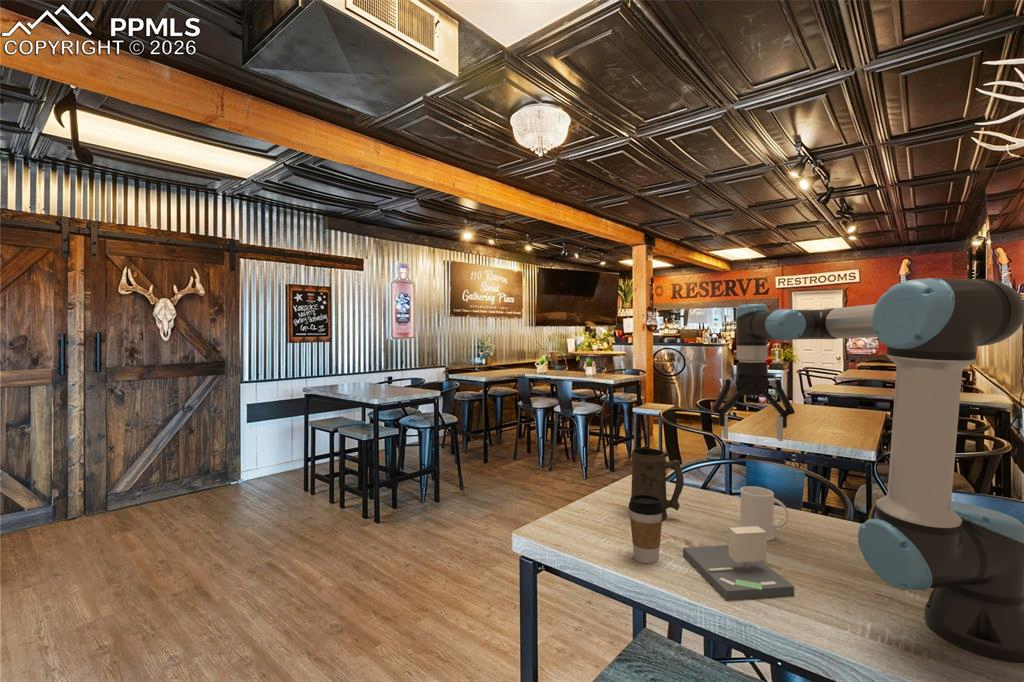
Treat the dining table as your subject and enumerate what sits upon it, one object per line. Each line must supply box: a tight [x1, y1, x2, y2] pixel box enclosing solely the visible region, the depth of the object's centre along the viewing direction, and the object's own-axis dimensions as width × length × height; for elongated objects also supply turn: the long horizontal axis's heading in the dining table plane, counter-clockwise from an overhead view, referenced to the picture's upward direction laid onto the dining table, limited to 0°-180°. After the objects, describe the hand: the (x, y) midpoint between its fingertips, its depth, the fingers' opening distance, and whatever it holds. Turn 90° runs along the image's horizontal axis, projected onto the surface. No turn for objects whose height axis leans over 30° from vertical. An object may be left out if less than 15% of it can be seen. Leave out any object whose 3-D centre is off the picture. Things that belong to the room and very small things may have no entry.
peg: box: [709, 526, 767, 572], centre depth 109 cm, size 3×12×9 cm, turn 96°
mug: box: [739, 486, 790, 542], centre depth 131 cm, size 12×8×12 cm
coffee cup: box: [628, 494, 664, 565], centre depth 119 cm, size 8×8×15 cm
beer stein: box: [629, 447, 685, 522], centre depth 145 cm, size 15×11×20 cm
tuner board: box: [682, 544, 795, 601], centre depth 111 cm, size 20×15×2 cm
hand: (752, 439), depth 131 cm, fingers open, 13 cm apart
